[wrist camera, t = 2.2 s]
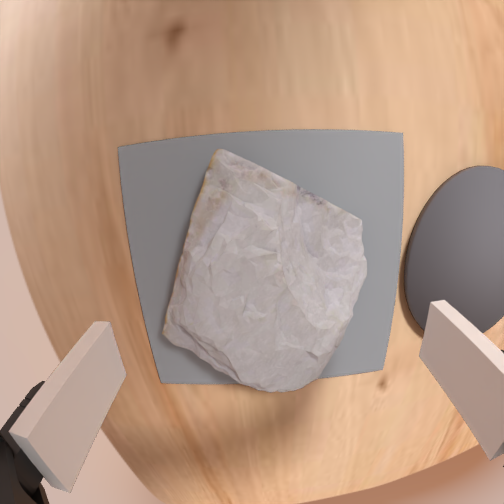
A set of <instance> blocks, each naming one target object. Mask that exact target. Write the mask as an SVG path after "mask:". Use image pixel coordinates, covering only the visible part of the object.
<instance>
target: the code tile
mask: <svg viewBox="0 0 504 504" xmlns="http://www.w3.org/2000/svg"><path fill="white" fill-rule="evenodd" d="M217 149H223V150H227V151H229V152H231V153H233V154H235V155H237V156H240V157H242V158H244V159H246V160H248V161H251V162H253V163H255V164H257V165H259V166H261V167H263V168H265V169H267V170H269V171H270V172H272V173H275V174H277V175H279V176H281V177H283V178H285V179H287V180H289V181H291V182H293V183H294V184H296V185H298V186H299V187H301V188H303V189H305V190H307V191H309V192H311V193H313V194H315V195H317V196H319V197H321V198H323V199H325V200H326V201H328V202H330V203H332V204H333V205H335V206H337V207H339V208H341V209H343V210H345V211H346V212H348V213H350V214H352V215H354V216H356V217H357V218H359V219H361V220H362V226H363V231H362V238H361V239H362V243H363V247H364V256H365V258H366V260H367V277H366V279H365V280H364V282H363V285H362V287H361V289H360V292H359V295H358V300H357V301H356V303H355V304H354V306H353V317H352V318H351V320H350V322H349V324H348V326H347V328H346V331H345V334H344V337H343V339H342V340H341V342H340V345H339V346H338V347H337V349H336V350H335V352H334V354H333V355H332V357H331V359H330V360H329V362H328V363H327V365H326V366H325V368H324V369H323V371H322V373H321V375H320V377H319V378H328V377H336V376H344V375H352V374H359V373H365V372H372V371H378V370H383V366H384V362H385V357H386V352H387V347H388V341H389V336H390V330H391V324H392V318H393V311H394V305H395V297H396V290H397V282H398V273H399V263H400V252H401V240H402V224H403V200H404V148H403V133H396V132H381V131H362V130H318V129H313V130H268V131H249V132H234V133H221V134H210V135H200V136H190V137H182V138H174V139H166V140H159V141H152V142H145V143H139V144H133V145H127V146H121V147H118V156H119V167H120V178H121V187H122V196H123V204H124V212H125V219H126V226H127V233H128V239H129V245H130V251H131V257H132V263H133V268H134V273H135V279H136V284H137V289H138V293H139V298H140V303H141V307H142V312H143V316H144V320H145V325H146V329H147V333H148V337H149V341H150V345H151V349H152V352H153V356H154V360H155V363H156V367H157V371H158V374H159V377H160V381H161V383H172V384H240V383H239V382H237V381H236V380H234V379H233V378H232V377H230V376H229V375H226V374H225V373H224V372H220V371H217V370H215V369H214V368H213V367H212V365H211V364H209V363H208V362H206V361H204V360H202V359H200V358H199V357H198V356H197V355H196V354H195V353H194V352H193V351H191V350H189V349H187V348H182V347H179V346H176V345H174V344H172V343H171V342H170V341H169V340H168V339H167V338H166V337H165V336H164V335H163V334H162V332H163V328H164V325H165V316H166V313H167V309H168V305H169V302H170V299H171V296H172V293H173V288H174V282H175V277H176V273H177V268H178V264H179V261H180V257H181V255H182V253H183V246H184V243H185V239H186V236H187V233H188V229H189V226H190V218H191V215H192V211H193V209H194V206H195V203H196V201H197V198H198V196H199V194H200V191H201V188H202V185H203V181H204V178H205V175H206V171H207V169H208V166H209V163H210V160H211V158H212V156H213V154H214V152H215V151H216V150H217ZM319 378H318V379H319Z"/></svg>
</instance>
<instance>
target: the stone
mask: <svg viewBox="0 0 504 504" xmlns="http://www.w3.org/2000/svg"><path fill="white" fill-rule="evenodd" d="M362 231H363V226H362V220H361V219H359V218H357V217H356V216H354V215H352V214H350V213H348V212H346V211H345V210H343V209H341V208H339V207H337V206H335V205H333V204H332V203H330V202H328V201H326V200H325V199H323V198H321V197H319V196H317V195H315V194H313V193H311V192H309V191H307V190H305V189H303V188H301V187H299V186H298V185H296V184H294V183H293V182H291V181H289V180H287V179H285V178H283V177H281V176H279V175H277V174H275V173H272V172H270V171H269V170H267V169H265V168H263V167H261V166H259V165H257V164H255V163H253V162H251V161H248V160H246V159H244V158H242V157H240V156H237V155H235V154H233V153H231V152H229V151H227V150H223V149H217V150H216V151H215V152H214V154H213V156H212V158H211V160H210V163H209V166H208V169H207V171H206V175H205V178H204V181H203V185H202V188H201V191H200V194H199V196H198V198H197V201H196V203H195V206H194V209H193V211H192V215H191V218H190V226H189V229H188V233H187V236H186V239H185V243H184V246H183V253H182V255H181V257H180V261H179V264H178V268H177V273H176V277H175V282H174V288H173V293H172V296H171V299H170V302H169V305H168V309H167V313H166V316H165V325H164V328H163V332H162V334H163V335H164V336H165V337H166V338H167V339H168V340H169V341H170V342H171V343H172V344H174V345H176V346H179V347H182V348H187V349H189V350H191V351H193V352H194V353H195V354H196V355H197V356H198V357H199V358H200V359H202V360H204V361H206V362H208V363H209V364H211V365H212V367H213V368H214V369H215V370H217V371H220V372H224V373H225V374H226V375H229V376H230V377H232V378H233V379H234V380H236V381H237V382H239V383H240V384H243V385H246V386H250V387H252V388H255V389H257V390H263V391H267V392H275V391H279V392H287V391H295V390H297V389H300V388H303V387H304V386H305V385H307V384H309V383H310V382H312V381H314V380H316V379H318V378H319V377H320V375H321V373H322V371H323V369H324V368H325V366H326V365H327V363H328V362H329V360H330V359H331V357H332V355H333V354H334V352H335V350H336V349H337V347H338V346H339V345H340V342H341V340H342V339H343V337H344V334H345V331H346V328H347V326H348V324H349V322H350V320H351V318H352V317H353V306H354V304H355V303H356V301H357V300H358V295H359V292H360V289H361V287H362V285H363V282H364V280H365V279H366V277H367V260H366V258H365V256H364V247H363V243H362V239H361V238H362Z"/></svg>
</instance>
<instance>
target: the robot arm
mask: <svg viewBox="0 0 504 504" xmlns="http://www.w3.org/2000/svg"><path fill="white" fill-rule="evenodd" d="M419 357H420V358H421V360H422V361H423V362H424V364H425V365H426V366H427V368H428V369H429V371H430V372H431V373H432V375H433V376H434V377H435V379H436V380H437V382H438V383H439V384H440V386H441V387H442V389H443V390H444V392H445V393H446V394H447V396H448V397H449V399H450V400H451V402H452V403H453V404H454V406H455V407H456V409H457V410H458V412H459V413H460V415H461V416H462V418H463V419H464V421H465V422H466V424H467V425H468V427H469V428H470V430H471V431H472V433H473V434H474V436H475V438H476V439H477V441H478V442H479V444H480V445H481V447H482V449H483V450H484V452H485V453H486V455H487V457H488V458H489V460H492V459H494V458H496V457H498V456H500V455H502V454H504V351H503V350H500V349H499V348H498V347H497V346H495V345H494V344H493V343H492V342H491V341H490V340H489V339H488V338H487V337H486V336H485V335H484V334H483V333H482V332H480V331H479V330H478V329H477V328H476V327H475V326H474V325H473V324H472V323H470V322H469V321H468V320H467V319H466V318H465V317H464V316H463V315H461V314H460V313H459V312H458V311H457V310H456V309H455V308H453V307H452V306H451V305H450V304H449V303H448V302H446V301H445V300H440V301H434V302H430V307H429V312H428V317H427V322H426V327H425V332H424V336H423V341H422V345H421V349H420V353H419ZM126 375H127V374H126V372H125V369H124V365H123V362H122V359H121V356H120V353H119V350H118V346H117V343H116V340H115V336H114V333H113V329H112V326H111V322H105V321H95V322H94V323H93V324H92V325H91V326H90V327H89V329H88V330H87V331H86V332H85V333H84V335H83V336H82V337H81V338H80V339H79V340H78V342H77V343H76V344H75V345H74V347H73V348H72V349H71V350H70V351H69V353H68V354H67V355H66V356H65V358H64V359H63V360H62V361H61V362H60V364H59V365H58V367H57V368H56V369H55V370H54V371H53V373H52V374H51V375H50V376H49V378H48V379H47V380H46V381H42V382H40V383H39V384H37V385H36V386H35V387H33V388H32V389H31V390H30V392H29V393H28V394H27V395H26V397H25V399H23V401H22V402H21V403H20V406H19V407H17V409H16V410H15V411H14V412H13V414H12V415H11V416H10V418H9V419H8V420H7V422H6V423H5V425H4V426H3V427H2V429H1V430H0V504H49V502H48V499H47V496H46V493H45V489H44V488H43V486H42V484H41V483H40V482H41V481H42V478H43V477H44V478H45V479H46V480H47V482H48V483H49V484H50V485H51V486H52V487H54V488H57V489H60V490H63V491H66V492H69V493H71V490H72V488H73V486H74V483H75V481H76V479H77V476H78V475H79V472H80V470H81V468H82V465H83V463H84V461H85V459H86V457H87V454H88V452H89V450H90V448H91V446H92V444H93V442H94V440H95V437H96V436H97V433H98V431H99V429H100V427H101V425H102V423H103V421H104V419H105V417H106V415H107V413H108V411H109V409H110V407H111V405H112V403H113V401H114V399H115V397H116V395H117V393H118V391H119V389H120V387H121V385H122V383H123V381H124V379H125V377H126ZM503 467H504V466H503Z"/></svg>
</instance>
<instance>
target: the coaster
mask: <svg viewBox="0 0 504 504" xmlns="http://www.w3.org/2000/svg"><path fill="white" fill-rule="evenodd" d="M404 286H405V294H406V300H407V303H408V306H409V309H410V311H411V313H412V315H413V317H414V319H415V320H416V321H417V323H418V324H419V325H420V327H421V328H422V329H423V330H424V331H425V327H426V322H427V317H428V312H429V307H430V302H434V301H440V300H445V301H446V302H448V303H449V304H450V305H451V306H452V307H453V308H455V309H456V310H457V311H458V312H459V313H460V314H461V315H463V316H464V317H465V318H466V319H467V320H468V321H469V322H470V323H472V324H473V325H474V326H475V327H476V328H477V329H478V330H479V331H480V332H482V333H484V332H485V331H487V330H488V329H490V328H491V327H492V326H494V325H495V324H496V323H497V322H498V321H499V320H500V319H501V318H502V317H503V316H504V171H503V170H501V169H499V168H495V167H490V166H474V167H469V168H466V169H464V170H461V171H459V172H458V173H456V174H454V175H452V176H451V177H450V178H449V179H447V180H446V181H445V182H444V183H443V184H442V185H441V186H440V187H439V188H438V189H437V190H436V191H435V192H434V194H433V195H432V196H431V198H430V199H429V200H428V202H427V203H426V205H425V207H424V208H423V210H422V212H421V213H420V216H419V218H418V220H417V222H416V224H415V226H414V229H413V232H412V235H411V238H410V241H409V245H408V249H407V253H406V260H405V269H404Z"/></svg>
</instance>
